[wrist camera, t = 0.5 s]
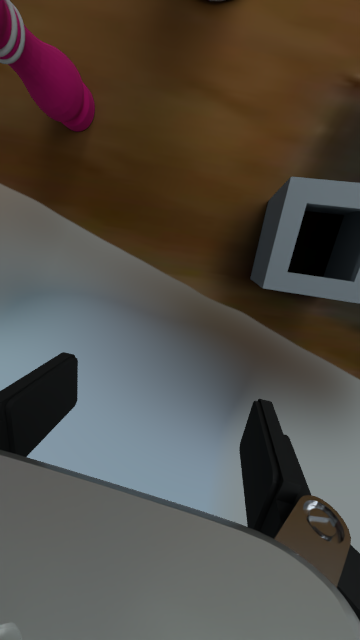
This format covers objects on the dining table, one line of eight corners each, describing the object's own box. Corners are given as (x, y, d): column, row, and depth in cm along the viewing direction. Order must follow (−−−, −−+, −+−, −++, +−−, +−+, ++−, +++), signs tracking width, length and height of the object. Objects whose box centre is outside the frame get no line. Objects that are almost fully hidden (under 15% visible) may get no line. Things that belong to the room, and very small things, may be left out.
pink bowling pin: (56, 132, 36) (-128, -5, 17) (56, 76, 33) (-157, -158, 14) (96, 138, 35) (-48, 2, 16) (99, 81, 32) (-66, -158, 14)
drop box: (268, 200, 33) (291, 176, 23) (352, 209, 32) (416, 188, 21) (250, 278, 37) (262, 288, 27) (324, 289, 35) (367, 304, 25)
